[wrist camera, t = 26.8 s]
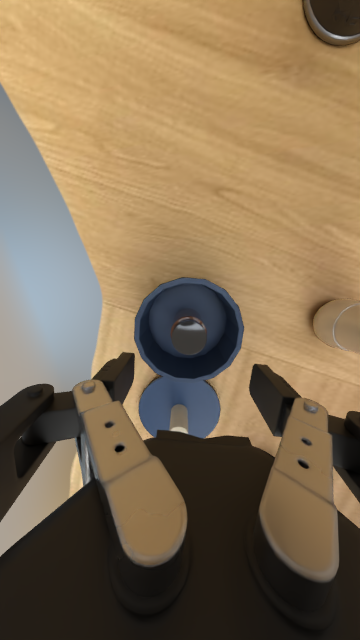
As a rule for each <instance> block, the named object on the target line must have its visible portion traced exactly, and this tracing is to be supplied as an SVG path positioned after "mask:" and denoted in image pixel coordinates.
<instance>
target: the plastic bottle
mask: <svg viewBox="0 0 360 640" xmlns="http://www.w3.org/2000/svg"><path fill="white" fill-rule="evenodd" d="M313 328H314V332H315V334H316V336H317V337H318V338H319V339H320V340H321V341H323V342H324V343H326V344H327V345H329V346H331V347H334V348H338V349H341V350H346V351H352V352H355V353H358V354H360V301H358V300H354V299H338V300H333V301H330V302H328V303H326V304H325V305H323V306H322V307H321V308H320V309H319V310H318V311H317V313H316V314H315V316H314V320H313Z"/></svg>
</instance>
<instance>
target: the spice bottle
mask: <svg viewBox="0 0 360 640" xmlns="http://www.w3.org/2000/svg"><path fill="white" fill-rule="evenodd" d="M170 335H171V340H172V344H173V346H174V348H175V349H176V350H177V351H178V352H180V353H182V354H185V355H193V354H196V353H198V352H200V351H201V350H202V349H203V348H204V346H205V344H206V341H207V330H206V327H205V324H204V322H203V320H202V318H201V316H200V314H199V313H198V312H197V311H196V310H194V309H191V308H185V309H181V310H180V311H178V312H177V313H176V315H175V316H174V319H173V323H172V327H171V332H170Z"/></svg>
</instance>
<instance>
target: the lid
mask: <svg viewBox="0 0 360 640" xmlns="http://www.w3.org/2000/svg"><path fill="white" fill-rule="evenodd" d="M139 416H140V419H141V422H142V424H143V426H144V427H145V429H146V430H147V431H148V432H149V433H150V434H151V435H152V436H153V437H156V435H157V430H168V431H180V432H183V433H186V434H190V435H193V436H196V437H199V438H205V437H206V436H208V435H209V434H210V433H211V432H212V431H213V429H214V428H215V426H216V425H217V423H218V420H219V416H220V404H219V399H218V397H217V394H216V393H215V391H214V389H213V388H212V387H211V386H210V385H209V384H208V383H207V382H206V381H200V382H197V383H185V382H174V381H171V380H169V379H167V378H165V377H163V376H161V377H159V378H157V379H155V380H154V381H152V382H151V383H150V384H149V385H148V386H147V387H146V389H145V390H144V392H143V394H142V396H141V399H140V402H139Z"/></svg>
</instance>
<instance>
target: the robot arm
mask: <svg viewBox="0 0 360 640" xmlns="http://www.w3.org/2000/svg"><path fill="white" fill-rule="evenodd" d="M303 2H304V10H305V14H306V17H307V20H308V23H309V25H310V27H311V28H312V30H313V31H314V32H315V34H316V35H317V36H318V37H319V38H321V39H322V40H324V41H325V42H327V43H330V44H333V45H347V44H351V43H354V42H357V41H359V40H360V0H303ZM134 360H135V355H134V353H126V352H122V354H121V355H120V356H119V357H118V358H117V359H112V360H110V361H108V362H107V363H106V364H105V365H104V366H103V367H102V368H101V369H100V371H99V372H98V373H97V374H96V375H95V376H94V377H93V378H92V379H91V380H86V381H83V382H80V383H78V384H77V385H75V386H74V388H73V390H72V391H70V392H61V393H54V387H53V386H52V385H49V384H37V385H33V386H30V387H27V388H25V389H23V390H22V391H20V392H18V393H17V394H16V395H15V396H13V397H12V398H11V399H9V400H8V401H7V402H5V403H4V404H3V405H1V406H0V522H1V520H2V519H3V517H4V516H5V515H6V513H7V512H8V510H9V509H10V507H11V506H12V505H13V503H14V502H15V500H16V499H17V497H18V496H19V495H20V493H21V491H22V490H23V489H24V487H25V486H26V484H27V483H28V482H29V480H30V478H31V477H32V476H33V474H34V473H35V472H36V470H37V469H38V467H39V466H40V464H41V463H42V461H43V460H44V459H45V457H46V456H47V454H48V453H49V451H50V450H51V449H52V447H53V446H54V444H55V443H56V441H60V440H65V439H71V438H75V441H76V447H77V452H78V456H79V461H80V466H81V471H82V478H83V487H82V488H81V489H80V490H79V491H78V492H76V493H75V494H74V495H73V496H72V497H70V498H69V499H68V500H67V501H66V502H64V503H63V504H62V505H61V506H60V507H58V508H57V509H56V510H55V511H54V512H52V513H51V514H50V515H49V516H48V517H46V518H45V519H44V520H43V521H42V522H41V523H39V524H38V525H37V526H35V527H34V528H33V529H32V530H31V531H30V532H28V533H27V534H26V535H25V536H23V537H22V538H21V539H20V540H19V541H17V542H16V543H15V544H14V545H13V546H12V547H10V548H9V549H8V550H7V551H6V552H5V553H4V554H2V555H1V557H0V640H360V529H359V528H358V527H357V526H356V525H355V524H354V523H352V522H351V521H350V520H349V519H348V518H346V517H345V516H344V515H343V514H342V513H340V512H339V511H338V510H337V508H336V506H335V505H334V501H333V467H334V468H335V470H336V471H337V472H338V474H339V475H340V476H341V478H342V479H343V481H344V482H345V483H346V485H347V486H348V487H349V489H350V490H351V492H352V493H353V494H354V496H355V497H356V498H357V500H358V501H359V503H360V412H356V411H349V412H348V413H347V415H346V418H345V419H342V418H338V417H335V416H331V415H328V411H327V410H326V409H325V408H324V407H323V406H322V405H320V404H319V403H317V402H315V401H312V400H310V399H306V398H302V397H301V396H300V395H299V394H298V393H297V392H296V391H295V390H294V389H293V388H292V387H291V386H290V385H289V384H288V383H287V382H286V381H285V380H284V379H283V378H282V377H281V376H279V375H277V374H276V373H274V372H273V371H272V370H271V369H270V368H269V367H268V366H267V365H261V364H254V366H253V369H252V374H251V380H250V385H249V391H250V395H251V397H252V398H253V400H254V402H255V404H256V405H257V407H258V409H259V411H260V413H261V414H262V416H263V418H264V420H265V421H266V423H267V425H268V427H269V429H270V430H271V432H272V434H273V436H278V437H282V439H281V442H280V445H279V448H278V451H277V454H276V457H273V456H272V455H270V454H269V453H267V452H265V451H263V450H261V449H259V448H256V447H254V446H252V445H251V442H250V440H249V438H248V437H237V436H220V437H213V438H205V439H204V438H199V437H196V436H193V435H190V434H186V433H183V432H180V431H168V430H157V435H156V437H154V438H150V439H146V440H144V441H143V440H142V438H141V436H140V435H139V433H138V431H137V430H136V428H135V426H134V425H133V423H132V421H131V419H130V418H129V416H128V414H127V413H126V411H125V409H124V408H123V406H122V404H123V402H124V400H125V398H126V396H127V394H128V392H129V390H130V388H131V386H132V383H133V379H134ZM21 436H22V437H21ZM20 437H21V438H20ZM19 438H20V439H19ZM18 439H19V440H18Z"/></svg>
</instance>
